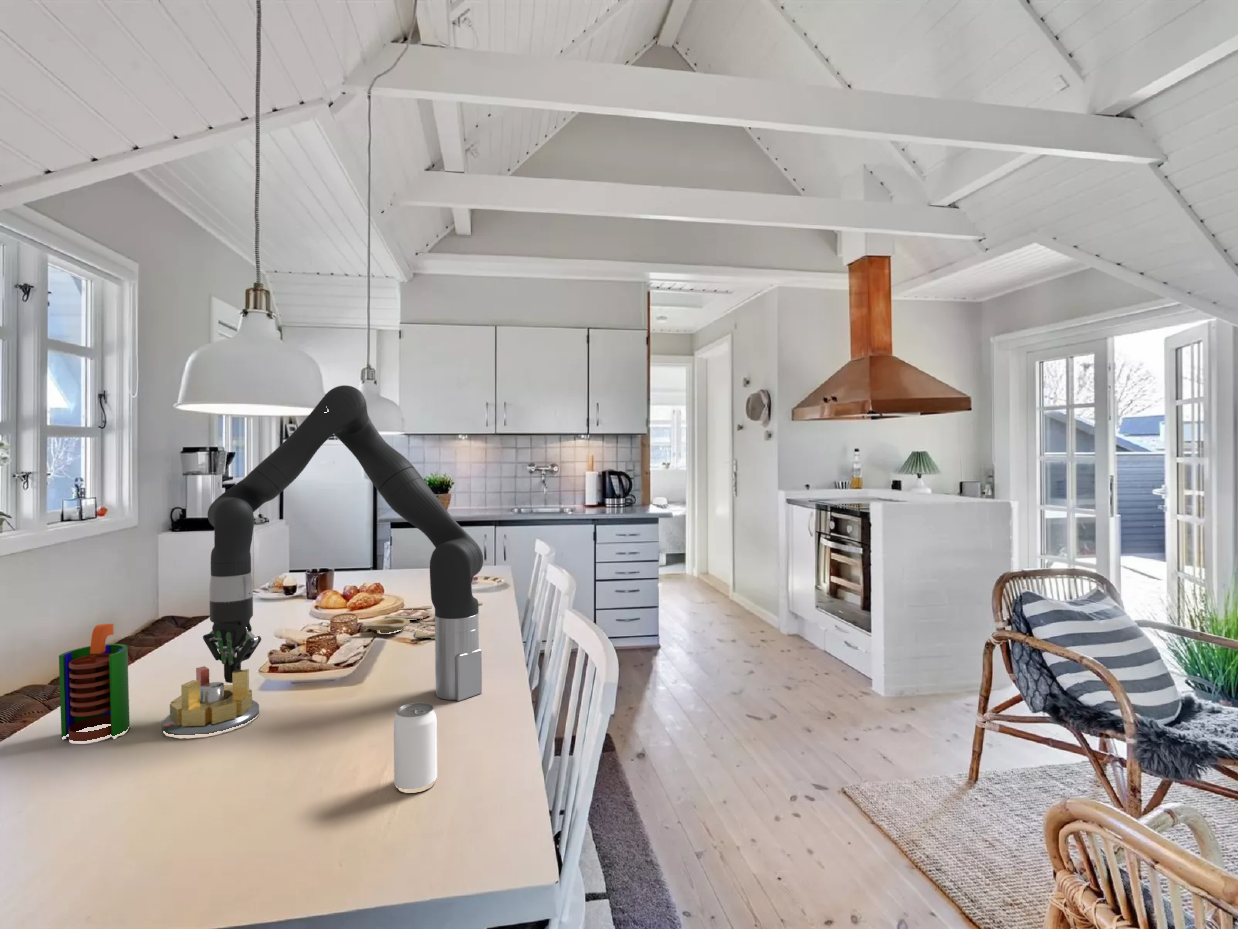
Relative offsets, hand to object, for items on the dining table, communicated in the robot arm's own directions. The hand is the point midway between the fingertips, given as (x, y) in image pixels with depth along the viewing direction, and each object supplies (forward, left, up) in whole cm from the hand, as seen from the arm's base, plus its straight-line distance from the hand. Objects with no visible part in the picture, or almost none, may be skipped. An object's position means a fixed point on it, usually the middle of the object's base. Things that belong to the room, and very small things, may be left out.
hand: (232, 681), depth 133 cm
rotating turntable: (-2, +4, -6) cm, 8 cm away
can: (-54, -8, -6) cm, 55 cm away
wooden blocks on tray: (-2, +4, -4) cm, 7 cm away
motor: (+8, +20, -6) cm, 23 cm away
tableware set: (+29, -63, -7) cm, 70 cm away
